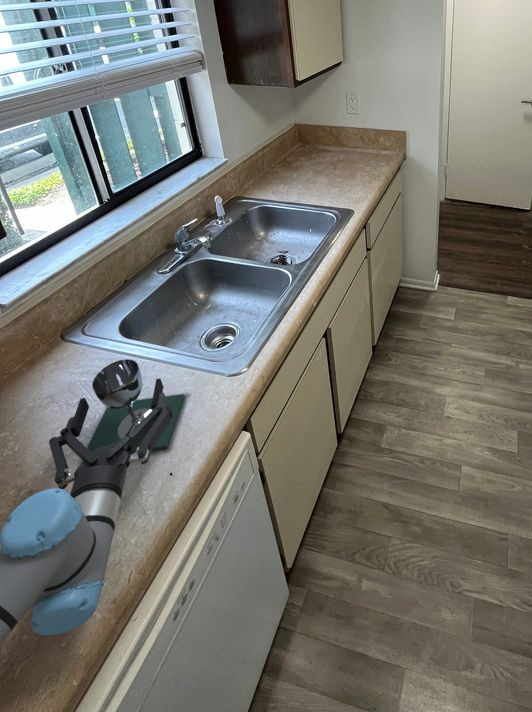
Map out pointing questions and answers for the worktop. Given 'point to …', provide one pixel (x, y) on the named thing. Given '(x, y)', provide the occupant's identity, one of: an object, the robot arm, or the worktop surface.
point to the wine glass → (121, 392)
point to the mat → (114, 417)
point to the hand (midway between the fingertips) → (123, 392)
